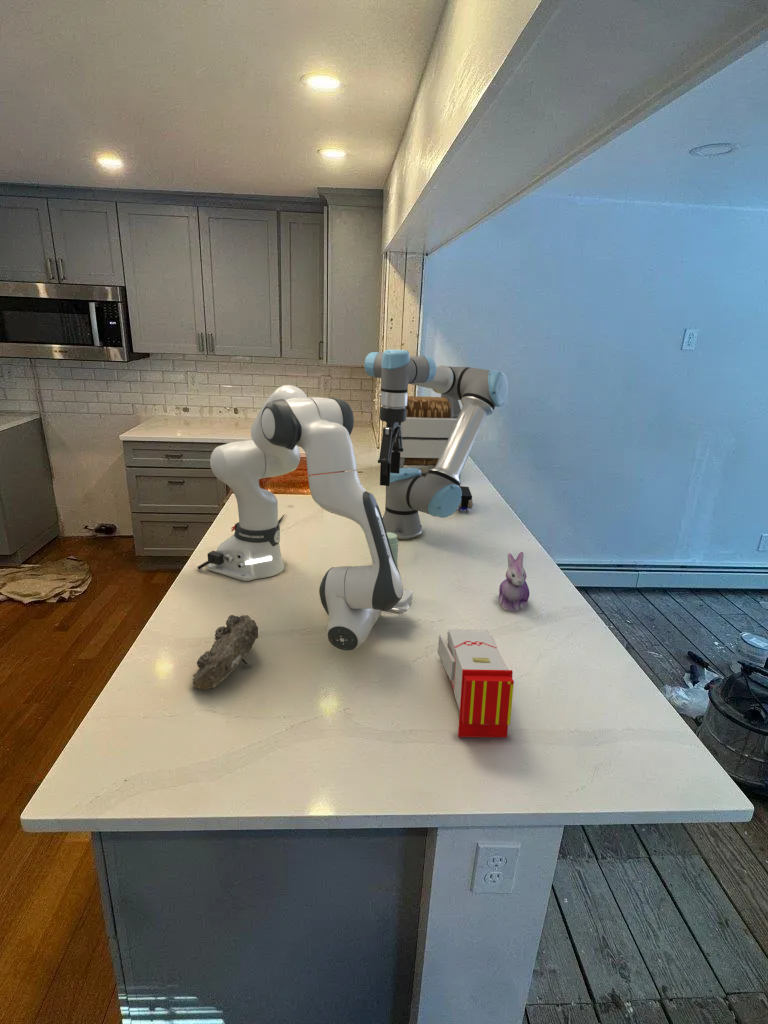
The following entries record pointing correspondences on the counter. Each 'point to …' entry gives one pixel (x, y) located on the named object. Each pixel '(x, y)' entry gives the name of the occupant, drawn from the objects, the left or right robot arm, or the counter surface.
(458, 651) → the toy
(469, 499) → the figurine character
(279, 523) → the feather
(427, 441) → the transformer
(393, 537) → the pale green tall cylinder
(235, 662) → the fossil
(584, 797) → the counter surface
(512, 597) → the figurine
